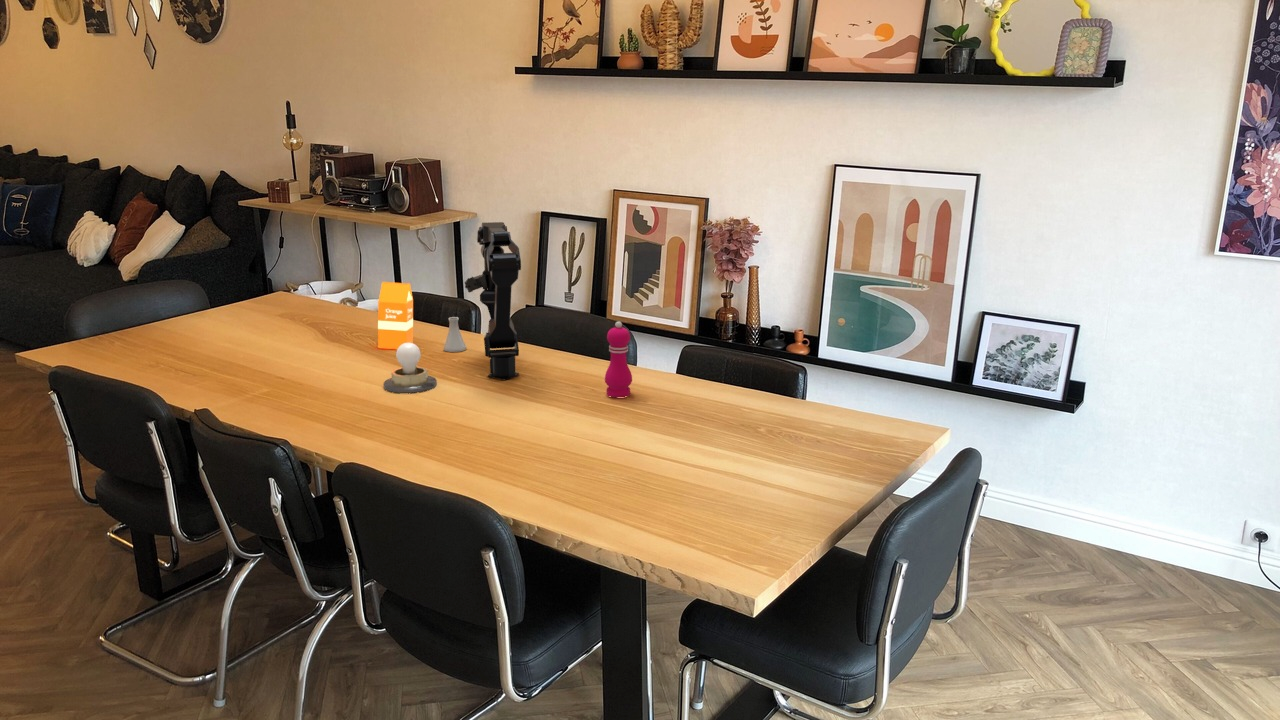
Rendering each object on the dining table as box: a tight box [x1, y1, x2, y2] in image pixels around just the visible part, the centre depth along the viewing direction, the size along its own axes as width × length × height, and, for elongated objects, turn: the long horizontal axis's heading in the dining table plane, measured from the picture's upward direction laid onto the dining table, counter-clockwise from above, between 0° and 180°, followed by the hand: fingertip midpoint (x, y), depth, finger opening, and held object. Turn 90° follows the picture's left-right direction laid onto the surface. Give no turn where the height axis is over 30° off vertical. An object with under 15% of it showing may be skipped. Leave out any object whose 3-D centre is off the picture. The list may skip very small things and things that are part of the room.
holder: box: [383, 366, 438, 395], centre depth 253 cm, size 14×14×4 cm
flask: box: [443, 316, 467, 353], centre depth 287 cm, size 7×7×10 cm
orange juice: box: [377, 281, 414, 350], centre depth 289 cm, size 8×9×20 cm
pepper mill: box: [604, 321, 633, 398], centre depth 245 cm, size 7×7×20 cm
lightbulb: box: [395, 343, 421, 376], centre depth 251 cm, size 6×6×11 cm
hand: (496, 319), depth 272 cm, fingers open, 9 cm apart
